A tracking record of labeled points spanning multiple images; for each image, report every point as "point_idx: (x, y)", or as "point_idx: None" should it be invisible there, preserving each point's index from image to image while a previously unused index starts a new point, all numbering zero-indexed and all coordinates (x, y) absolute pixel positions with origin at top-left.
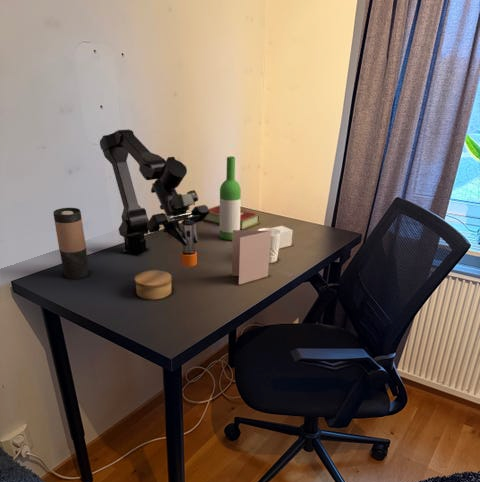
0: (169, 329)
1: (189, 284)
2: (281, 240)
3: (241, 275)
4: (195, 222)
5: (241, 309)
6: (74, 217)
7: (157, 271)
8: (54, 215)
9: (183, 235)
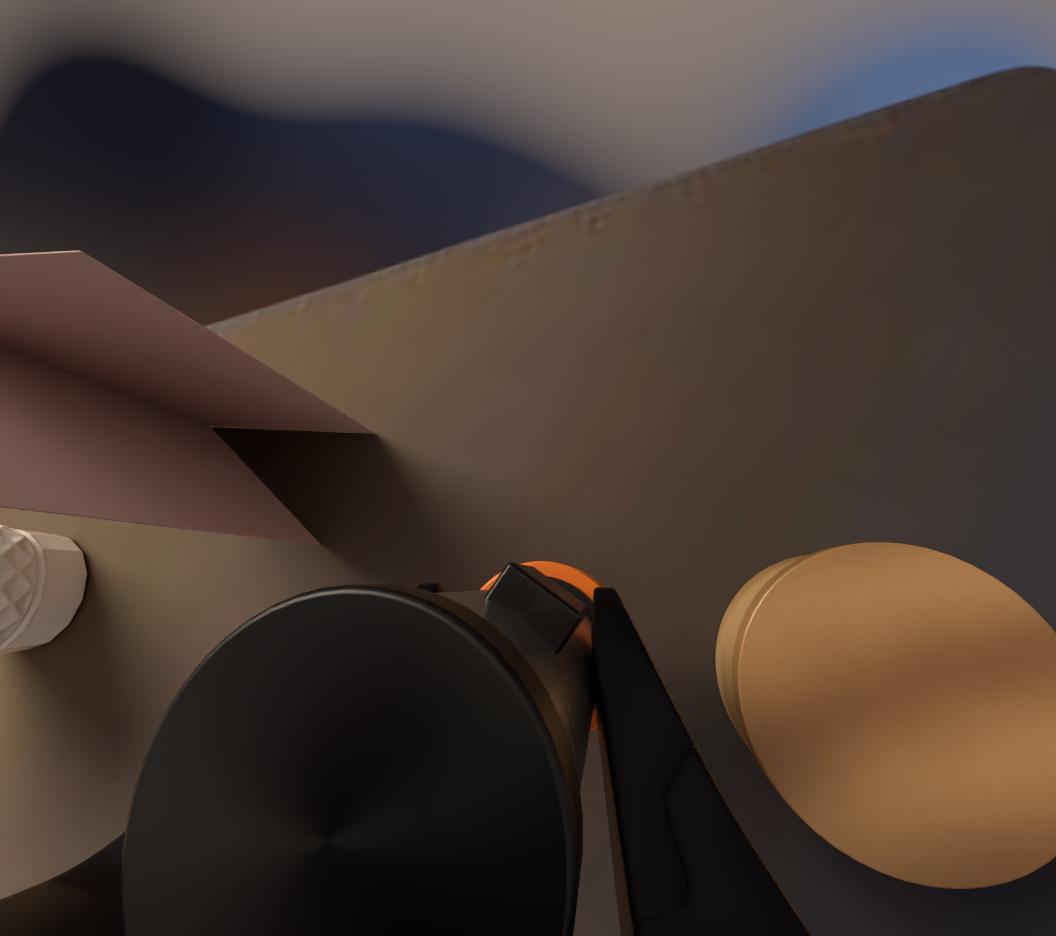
0: (959, 240)
1: None
2: None
3: (332, 415)
4: (71, 882)
5: (543, 234)
6: None
7: (813, 789)
8: None
9: (607, 695)
